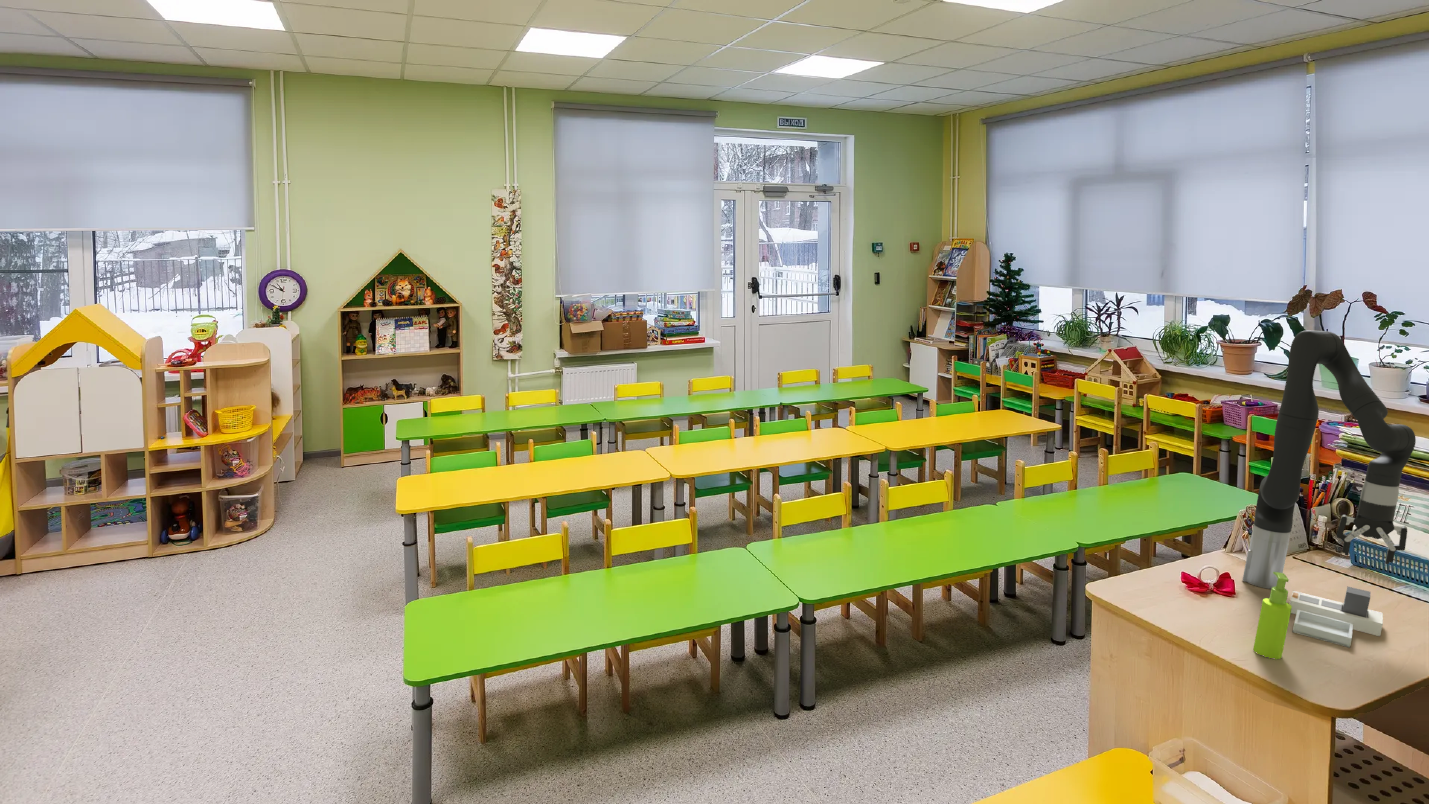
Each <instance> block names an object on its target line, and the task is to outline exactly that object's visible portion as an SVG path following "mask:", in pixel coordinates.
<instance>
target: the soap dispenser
mask: <svg viewBox="0 0 1429 804" xmlns="http://www.w3.org/2000/svg"><path fill="white" fill-rule="evenodd" d="M1273 574H1275V575H1276V577H1277V578H1278V580H1277V585H1276V586H1275V587H1272V588H1271V589H1270V595H1269V597H1265V598H1263V599H1262V601H1261V608H1260V612H1259V617H1258V623H1257V627H1256V634H1255V638H1254V643H1253V650H1254V651H1255V652H1257V653H1258V654H1260V655H1264V656H1265V657H1264V658H1266V657H1269V658H1268V659H1270V658H1275V659H1274V660H1281V659H1282V657H1283V654H1284V646H1285V643H1286V642H1285V641H1286V637H1287V633H1288V632H1287V631H1288V627H1289V623H1290V619H1291V618H1290V617H1291V614H1292V613H1291V609H1292V606H1291V605H1290V603H1289V602H1287V599H1288V594H1289V590H1287V588H1285V587H1286V583H1289V580H1290V579H1288V577H1287V575H1286V574H1285V573H1284V572H1283V573H1279V572H1273ZM1253 650H1252V651H1253ZM1254 651H1253V652H1254ZM1255 652H1254V653H1255ZM1257 653H1256V654H1257ZM1258 654H1257V655H1258ZM1260 655H1259V656H1260Z"/></svg>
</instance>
